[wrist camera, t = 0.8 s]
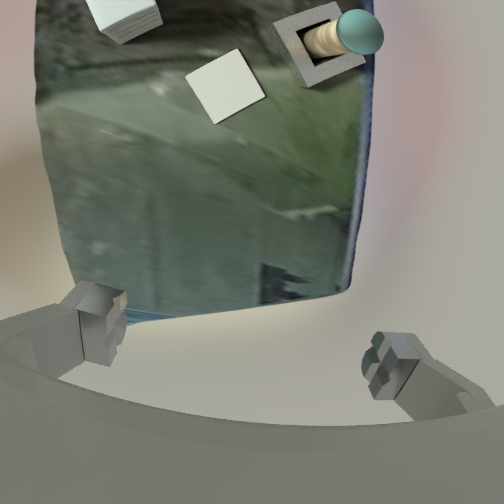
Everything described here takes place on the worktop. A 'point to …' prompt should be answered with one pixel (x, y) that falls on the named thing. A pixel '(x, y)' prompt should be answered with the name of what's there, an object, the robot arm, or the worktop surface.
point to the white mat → (225, 86)
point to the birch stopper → (345, 36)
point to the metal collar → (296, 53)
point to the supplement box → (125, 17)
